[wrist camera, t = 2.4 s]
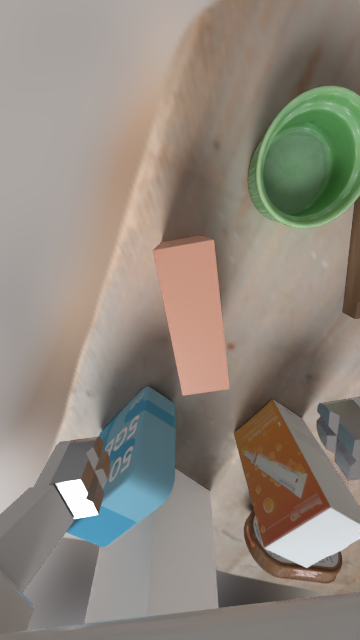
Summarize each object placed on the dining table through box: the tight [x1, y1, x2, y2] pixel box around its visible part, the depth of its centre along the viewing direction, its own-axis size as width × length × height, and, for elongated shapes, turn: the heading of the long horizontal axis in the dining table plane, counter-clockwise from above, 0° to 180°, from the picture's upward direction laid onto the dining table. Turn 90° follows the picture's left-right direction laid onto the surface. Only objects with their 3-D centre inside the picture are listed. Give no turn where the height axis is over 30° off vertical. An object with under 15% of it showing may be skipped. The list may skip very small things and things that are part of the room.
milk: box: [84, 469, 218, 624], centre depth 26 cm, size 12×12×26 cm
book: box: [153, 235, 230, 396], centre depth 21 cm, size 4×12×9 cm, turn 9°
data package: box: [66, 386, 176, 547], centre depth 26 cm, size 12×4×12 cm, turn 139°
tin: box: [244, 509, 342, 584], centre depth 37 cm, size 15×3×8 cm, turn 77°
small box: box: [234, 399, 360, 568], centre depth 27 cm, size 8×6×13 cm
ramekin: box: [248, 86, 360, 228], centre depth 19 cm, size 9×9×4 cm
